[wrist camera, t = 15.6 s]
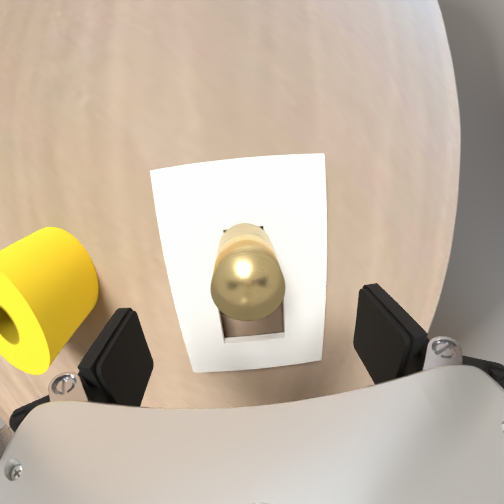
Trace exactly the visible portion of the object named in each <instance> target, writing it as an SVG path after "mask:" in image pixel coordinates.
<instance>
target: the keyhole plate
mask: <svg viewBox="0 0 504 504" xmlns="http://www.w3.org/2000/svg"><path fill="white" fill-rule="evenodd" d="M150 173H151V181H152V189H153V196H154V202H155V209H156V215H157V221H158V227H159V233H160V238H161V244H162V249H163V254H164V259H165V264H166V269H167V273H168V278H169V282H170V287H171V291H172V295H173V300H174V304H175V308H176V312H177V316H178V320H179V323H180V327H181V331H182V335H183V338H184V342H185V345H186V349H187V352H188V356H189V359H190V362H191V366H192V369H193V372H194V373H198V372H222V371H237V370H249V369H260V368H270V367H278V366H286V365H294V364H301V363H307V362H314V361H320V360H321V358H322V347H323V334H324V319H325V300H326V272H327V204H326V177H325V158H324V154H294V155H275V156H260V157H248V158H237V159H227V160H218V161H210V162H202V163H194V164H187V165H181V166H174V167H168V168H162V169H156V170H150ZM241 223H250V224H254V225H257V226H263V230H264V231H265V232H266V233H267V235H268V237H269V239H270V241H271V244H272V247H273V249H274V252H275V255H276V257H277V260H278V263H279V265H280V268H281V271H282V274H283V276H284V280H285V286H286V288H285V295H284V298H283V322H284V332H281V333H272V334H263V335H253V336H242V337H230V338H224V332H223V327H222V321H221V315H220V310H219V309H218V308H217V307H216V305H215V303H214V302H213V299H212V296H211V290H210V287H211V280H212V275H213V270H214V265H215V261H216V256H217V251H218V246H219V242H220V239H221V237H222V235H223V234H224V230H227V229H229V228H230V227H232V226H234V225H236V224H241Z"/></svg>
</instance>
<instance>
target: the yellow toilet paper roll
mask: <svg viewBox="0 0 504 504" xmlns="http://www.w3.org/2000/svg"><path fill="white" fill-rule="evenodd" d="M98 292H99V285H98V278H97V274H96V270H95V267H94V265H93V262H92V260H91V258H90V256H89V255H88V253H87V251H86V250H85V248H84V247H83V246H82V245H81V243H80V242H79V241H78V240H77V239H76V238H75V237H74V236H72V235H71V234H70V233H68V232H66V231H64V230H62V229H60V228H56V227H46V228H43V229H41V230H39V231H37V232H35V233H33V234H31V235H29V236H27V237H25V238H23V239H21V240H19V241H17V242H15V243H13V244H12V245H10V246H8V247H6V248H4V249H3V250H1V251H0V354H1V355H2V356H3V357H4V358H5V359H6V360H7V361H8V362H10V363H11V364H12V365H13V366H15V367H16V368H18V369H20V370H22V371H24V372H26V373H29V374H33V375H40V374H43V373H45V372H46V371H47V369H48V368H49V366H50V365H51V364H52V362H53V361H54V359H55V358H56V356H57V355H58V354H59V352H60V351H61V350H62V348H63V347H64V346H65V344H66V343H67V341H68V340H69V339H70V338H71V336H72V335H73V334H74V332H75V331H76V330H77V328H78V327H79V326H80V325H81V323H82V322H83V321H84V319H85V318H86V317H87V316H88V314H89V313H90V312H91V311H92V309H93V308H94V306H95V305H96V302H97V299H98Z"/></svg>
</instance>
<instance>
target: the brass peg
mask: <svg viewBox="0 0 504 504" xmlns="http://www.w3.org/2000/svg"><path fill="white" fill-rule="evenodd" d="M285 288H286V286H285V280H284V276H283V274H282V271H281V268H280V265H279V263H278V260H277V257H276V255H275V252H274V249H273V247H272V244H271V241H270V239H269V237H268V235H267V233H266V232H265V231H264V230H263V226H257V225H254V224H250V223H241V224H236V225H234V226H232V227H230V228H229V229H227V230H224V234H223V235H222V237H221V239H220V242H219V246H218V251H217V256H216V261H215V265H214V270H213V275H212V280H211V287H210V290H211V296H212V299H213V302H214V303H215V305H216V307H217V308H218V309H219V310H220V311H221V312H222V313H223V314H225V315H226V316H228V317H230V318H232V319H235V320H240V321H255V320H259V319H262V318H265V317H267V316H269V315H270V314H272V313H273V312H274V311H275V310H276V309H277V308H278V307H279V306H280V304H281V303H282V300H283V298H284V295H285Z"/></svg>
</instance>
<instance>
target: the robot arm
mask: <svg viewBox="0 0 504 504" xmlns="http://www.w3.org/2000/svg"><path fill="white" fill-rule="evenodd" d="M427 335H428V334H427V333H426V332H425V331H424V330H423V328H422V327H421V326H420V325H419V324H418V323H417V322H416V321H415V320H414V319H413V318H412V317H411V316H410V315H409V314H408V313H407V312H406V311H405V310H404V309H403V308H402V307H401V306H400V305H399V304H398V303H397V302H396V301H395V300H394V299H393V298H392V297H391V296H390V295H389V294H388V293H387V292H386V291H385V290H383V289H382V288H381V287H380V286H379V285H378V284H377V283H375V284H369V285H364V286H363V289H360V291H359V298H358V308H357V317H356V325H355V333H354V340H353V343H354V348H355V350H356V352H357V353H358V355H359V357H360V359H361V360H362V362H363V364H364V366H365V367H366V369H367V371H368V373H369V374H370V376H371V378H372V380H373V382H374V383H375V385H371V386H367V387H363V388H359V389H355V390H351V391H347V392H342V393H338V394H333V395H328V396H322V397H317V398H311V399H305V400H299V401H292V402H285V403H277V404H268V405H258V406H247V407H232V408H206V409H176V408H152V407H140V405H141V402H142V399H143V396H144V393H145V390H146V387H147V384H148V381H149V378H150V375H151V372H152V370H153V359H152V356H151V354H150V351H149V348H148V345H147V342H146V340H145V337H144V334H143V331H142V328H141V325H140V321H139V318H138V315H137V313H136V311H133V310H132V309H131V308H118V309H117V310H116V312H115V313H114V315H113V316H112V317H111V319H110V320H109V322H108V323H107V324H106V326H105V327H104V329H103V330H102V331H101V333H100V334H99V336H98V337H97V339H96V340H95V342H94V343H93V344H92V346H91V347H90V349H89V350H88V352H87V353H86V355H85V356H84V358H83V359H82V361H81V363H80V364H79V366H78V369H79V373H78V375H77V374H76V373H74V372H64V373H61V374H59V375H57V376H56V377H54V378H53V379H52V380H51V382H50V384H49V386H48V391H49V395H47V396H45V397H43V398H41V399H38V400H36V401H34V402H32V403H29V404H27V405H25V406H22V407H20V408H18V409H16V410H15V411H14V412H13V414H12V415H11V417H10V420H9V425H10V426H9V427H8V426H7V425H5V426H3V427H2V428H1V429H0V504H504V366H503V365H501V364H499V363H495V362H491V361H486V360H481V359H476V358H471V357H466V356H463V355H462V353H463V352H462V347H461V345H460V344H459V343H458V342H457V341H456V340H454V339H452V338H449V337H436V338H433V339H432V340H431V341H430V340H429V339H428V338H427Z"/></svg>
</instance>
